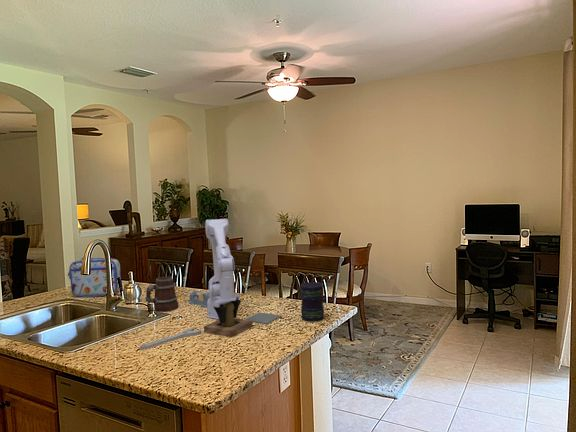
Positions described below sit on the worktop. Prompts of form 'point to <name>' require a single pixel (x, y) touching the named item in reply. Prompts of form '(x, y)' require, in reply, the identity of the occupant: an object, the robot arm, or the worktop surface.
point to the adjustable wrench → (171, 338)
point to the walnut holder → (228, 328)
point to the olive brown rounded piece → (229, 315)
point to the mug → (163, 294)
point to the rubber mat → (263, 318)
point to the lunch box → (92, 278)
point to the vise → (200, 300)
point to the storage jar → (312, 302)
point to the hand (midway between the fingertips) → (228, 320)
